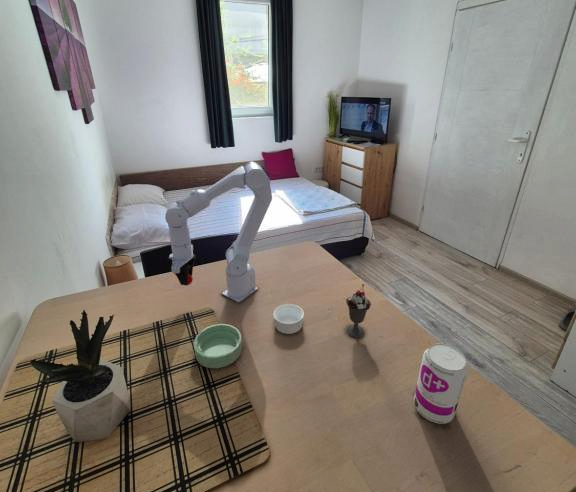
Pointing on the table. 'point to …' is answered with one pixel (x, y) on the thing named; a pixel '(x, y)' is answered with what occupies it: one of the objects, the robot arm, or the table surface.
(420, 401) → the supplement can
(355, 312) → the sundae
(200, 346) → the bowl
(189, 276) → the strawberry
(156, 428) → the table surface
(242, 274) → the robot arm
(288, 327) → the ramekin
